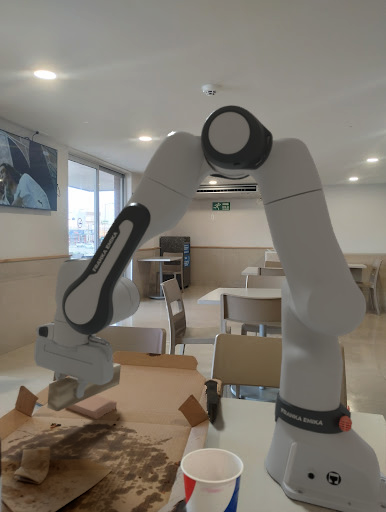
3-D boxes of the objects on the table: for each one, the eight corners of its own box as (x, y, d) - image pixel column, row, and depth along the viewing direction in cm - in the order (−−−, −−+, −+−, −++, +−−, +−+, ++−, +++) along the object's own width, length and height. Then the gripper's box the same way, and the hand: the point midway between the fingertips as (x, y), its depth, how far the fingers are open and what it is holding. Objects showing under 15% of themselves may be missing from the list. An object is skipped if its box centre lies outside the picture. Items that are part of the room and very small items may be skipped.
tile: (116, 401, 92) (86, 391, 97) (96, 412, 86) (65, 401, 90) (116, 409, 92) (86, 399, 97) (96, 421, 86) (65, 409, 91)
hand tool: (204, 392, 106) (204, 376, 106) (218, 393, 106) (219, 377, 106) (200, 424, 87) (201, 405, 87) (217, 426, 87) (218, 406, 87)
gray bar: (119, 384, 94) (120, 364, 94) (57, 411, 76) (59, 387, 76) (109, 381, 95) (111, 362, 95) (47, 407, 78) (49, 383, 78)
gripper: (122, 337, 79) (117, 401, 79) (53, 321, 88) (49, 379, 89) (102, 343, 73) (97, 412, 74) (30, 326, 82) (27, 387, 83)
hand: (70, 394), depth 81 cm, fingers closed on gray bar, 3 cm apart
